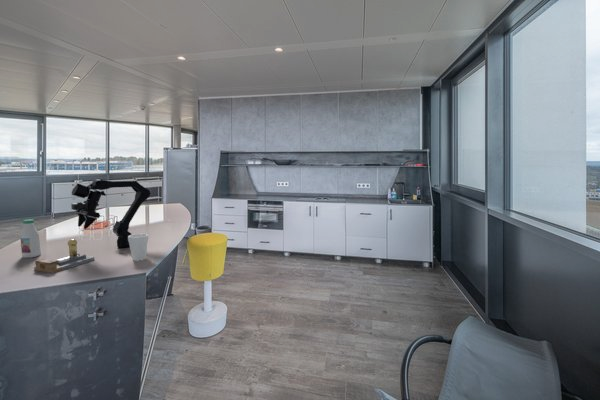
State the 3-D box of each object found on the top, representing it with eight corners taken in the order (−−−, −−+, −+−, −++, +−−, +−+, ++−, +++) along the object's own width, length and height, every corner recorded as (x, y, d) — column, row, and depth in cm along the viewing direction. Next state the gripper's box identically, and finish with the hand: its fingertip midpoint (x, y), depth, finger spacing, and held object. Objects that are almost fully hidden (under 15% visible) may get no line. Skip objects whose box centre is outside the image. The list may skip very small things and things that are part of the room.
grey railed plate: (77, 257, 165) (77, 248, 165) (94, 259, 162) (93, 251, 161) (34, 270, 146) (33, 260, 145) (52, 273, 142) (51, 263, 141)
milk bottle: (38, 253, 172) (35, 218, 169) (43, 255, 168) (39, 219, 165) (20, 256, 166) (16, 220, 163) (24, 259, 161) (21, 221, 159)
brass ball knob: (74, 257, 160) (73, 237, 158) (80, 258, 159) (78, 238, 157) (55, 262, 151) (53, 242, 149) (61, 263, 150) (59, 243, 148)
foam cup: (152, 257, 167) (151, 234, 165) (139, 262, 158) (137, 238, 157) (139, 255, 170) (138, 232, 169) (125, 260, 162) (123, 236, 160)
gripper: (71, 194, 171) (59, 221, 168) (82, 197, 159) (70, 226, 157) (92, 200, 179) (82, 226, 177) (105, 204, 168) (94, 231, 165)
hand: (81, 227), depth 168 cm, fingers open, 9 cm apart
